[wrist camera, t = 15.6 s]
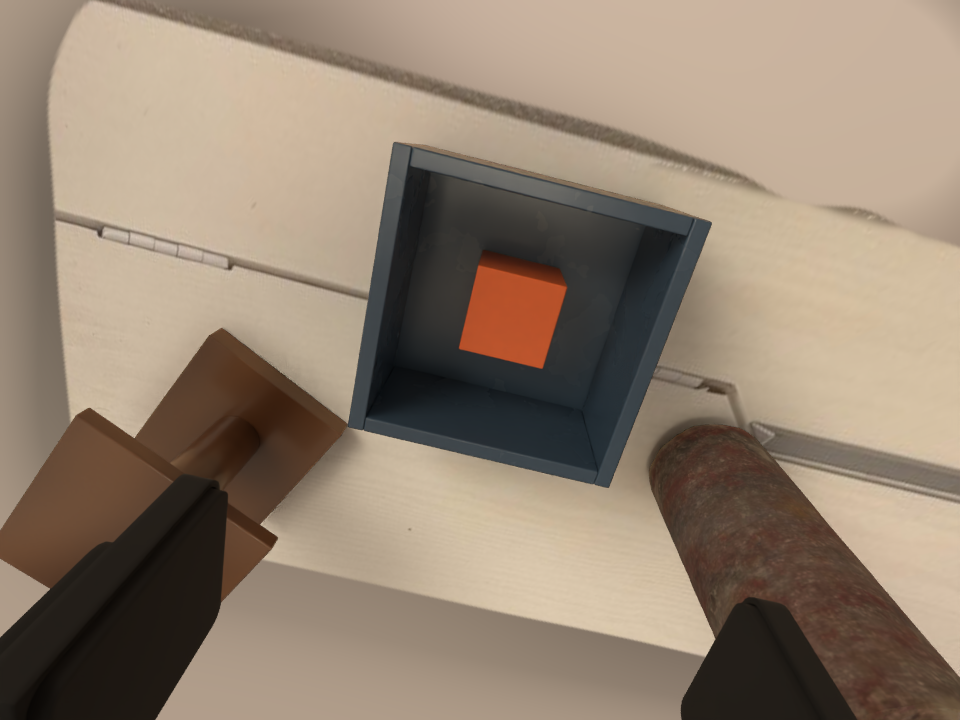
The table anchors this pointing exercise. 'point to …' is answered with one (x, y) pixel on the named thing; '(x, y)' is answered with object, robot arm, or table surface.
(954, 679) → the brown textured cylinder
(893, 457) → the table surface
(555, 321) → the orange block
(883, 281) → the table surface
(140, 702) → the robot arm
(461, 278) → the blue open crate
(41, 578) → the serving stand
